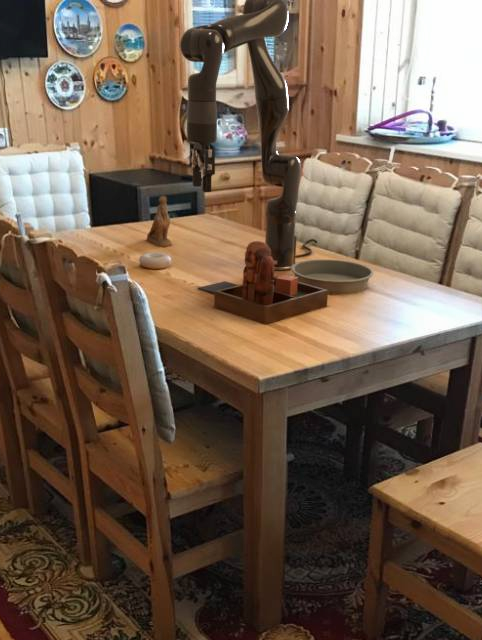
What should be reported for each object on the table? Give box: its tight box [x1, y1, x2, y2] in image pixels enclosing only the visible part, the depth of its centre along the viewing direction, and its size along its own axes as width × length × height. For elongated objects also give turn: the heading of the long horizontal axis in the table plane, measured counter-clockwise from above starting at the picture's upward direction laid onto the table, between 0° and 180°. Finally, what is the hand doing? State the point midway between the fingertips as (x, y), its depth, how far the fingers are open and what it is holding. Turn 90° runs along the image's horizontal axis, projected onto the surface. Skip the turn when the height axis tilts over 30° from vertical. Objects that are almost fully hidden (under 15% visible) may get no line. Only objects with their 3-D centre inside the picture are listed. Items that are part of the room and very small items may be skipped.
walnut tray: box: [213, 275, 329, 325], centre depth 221 cm, size 25×19×4 cm
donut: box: [138, 252, 172, 270], centre depth 255 cm, size 10×3×10 cm
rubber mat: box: [197, 280, 238, 295], centre depth 235 cm, size 11×11×1 cm
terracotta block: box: [276, 274, 298, 296], centre depth 224 cm, size 4×4×4 cm
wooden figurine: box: [242, 240, 275, 306], centre depth 214 cm, size 12×6×18 cm, turn 31°
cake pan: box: [290, 259, 374, 295], centre depth 244 cm, size 25×25×4 cm
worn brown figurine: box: [146, 194, 172, 247], centre depth 279 cm, size 12×6×18 cm, turn 26°
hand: (201, 189), depth 212 cm, fingers open, 8 cm apart
